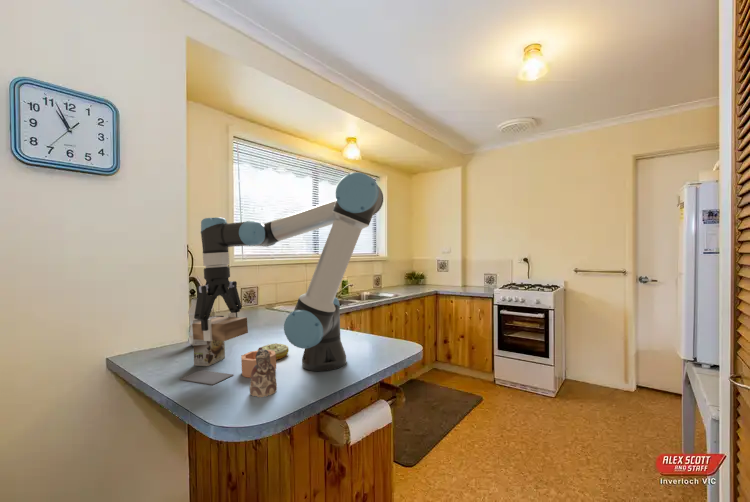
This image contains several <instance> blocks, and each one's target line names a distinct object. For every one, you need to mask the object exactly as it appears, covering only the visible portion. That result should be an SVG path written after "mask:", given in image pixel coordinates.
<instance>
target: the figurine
mask: <svg viewBox="0 0 750 502" xmlns="http://www.w3.org/2000/svg"><path fill="white" fill-rule="evenodd" d="M262 347H263V346H261V347H258V349H257V350H258V352H257V353H256V363H257V365H255V366H254V368H253V369H252V372H251V378H250V384H249V394H250V396H251V395H252V397H254V396H257V397H256V398H265V397H269V396H271V395H273V394H275V393H277V389H278V387H277V386H278V385H277V384H278V383H277V378H276V377H277V376H276V371H275V369H274V367H273V365H272V364H270V353H269V352H268V351H267V350H265V349H262ZM268 395H269V396H268ZM264 396H265V397H264Z"/></svg>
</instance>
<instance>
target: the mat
mask: <svg viewBox="0 0 750 502" xmlns="http://www.w3.org/2000/svg"><path fill="white" fill-rule="evenodd" d="M233 376H234V373H233V374H232V373H224V372H217V371H211V370H204V369H201V370H198V371H195V372H193V373H191V374H189V375H186V376H184V377H180V378H179V380H180V381H183V382H190V383H198V384H202V385H208V386H209V385H210V386H215V385H217V384H219V383H220V382H223V381H224V380H227V379H229V378H231V377H233Z"/></svg>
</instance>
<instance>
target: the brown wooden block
mask: <svg viewBox="0 0 750 502" xmlns="http://www.w3.org/2000/svg"><path fill="white" fill-rule="evenodd" d="M192 327H193V340H204V336H203V331H202V329H201V321H200V322H196V323H193V324H192ZM211 327H212V340H217V341H224V342H226V341H229V340H232V339H235V338H237V337H240V336H243V335H246V334H248V333H249V328H248V317H246V316H245V317H238V316H237V317H228V316H224V317H215V318H212V319H211Z"/></svg>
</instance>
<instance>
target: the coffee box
mask: <svg viewBox="0 0 750 502" xmlns="http://www.w3.org/2000/svg"><path fill="white" fill-rule="evenodd" d="M215 317H225V316H224V315H210V316H209V319H212V318H215ZM200 321H201V320H198V319H197V320H193V323H196V322H200ZM225 342H226V341H217V340H213V341H204V340H193V345H194V346H192V348H193V366H196V367H197V366H199V367H200V366H201V367H202V366H203V367H210V366H212V365H213V364H216V363H218V362H220V361H221V360H223V359H226V352H225V351H226V349H225V348H226V346H225V344H226V343H225Z"/></svg>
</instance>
